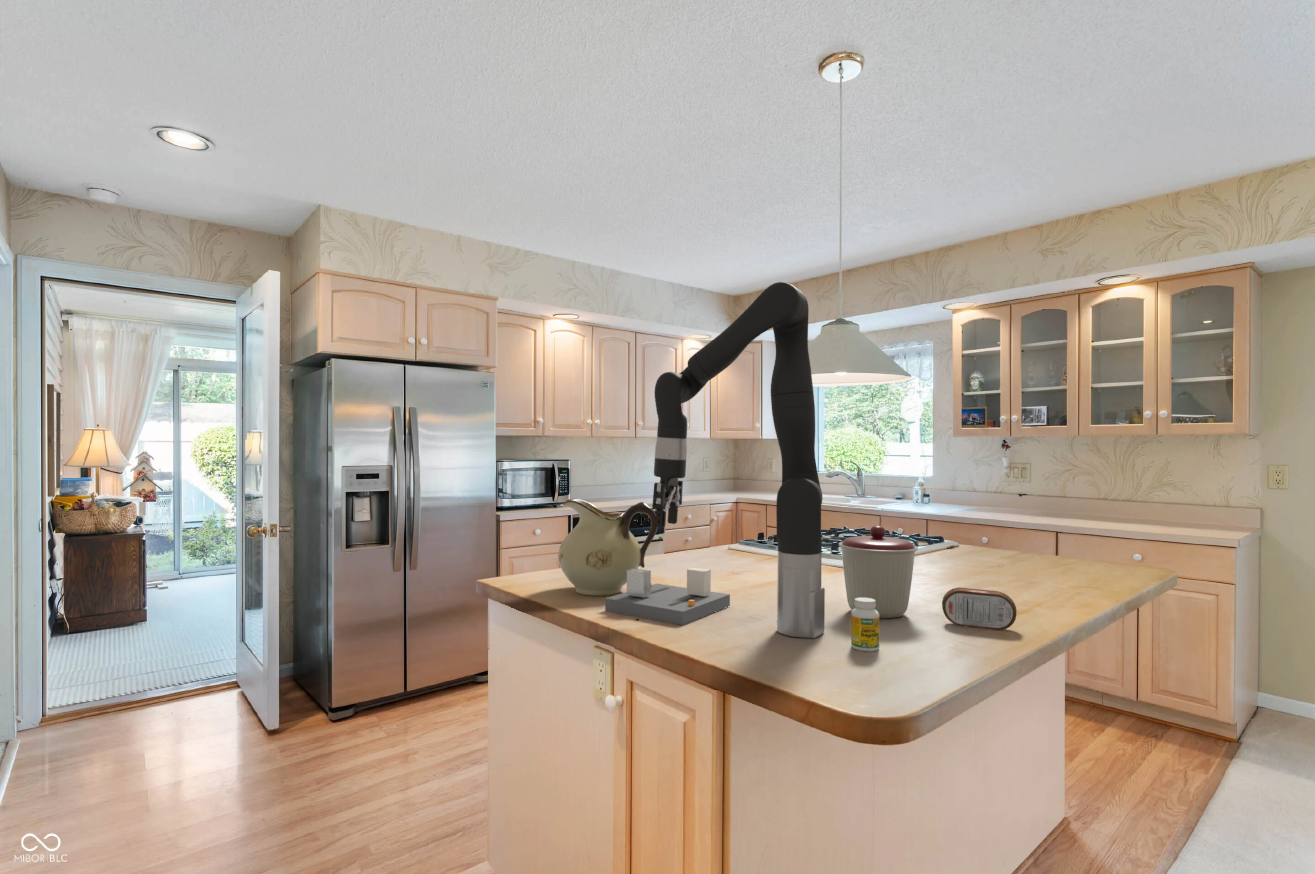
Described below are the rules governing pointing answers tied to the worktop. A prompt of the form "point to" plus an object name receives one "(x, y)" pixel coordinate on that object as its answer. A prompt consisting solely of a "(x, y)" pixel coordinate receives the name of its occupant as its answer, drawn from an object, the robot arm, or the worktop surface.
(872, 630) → the supplement bottle
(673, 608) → the grey slotted tray
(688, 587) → the block
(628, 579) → the light grey block
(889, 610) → the canister
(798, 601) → the robot arm
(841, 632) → the worktop surface
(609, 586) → the pitcher
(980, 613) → the tin
